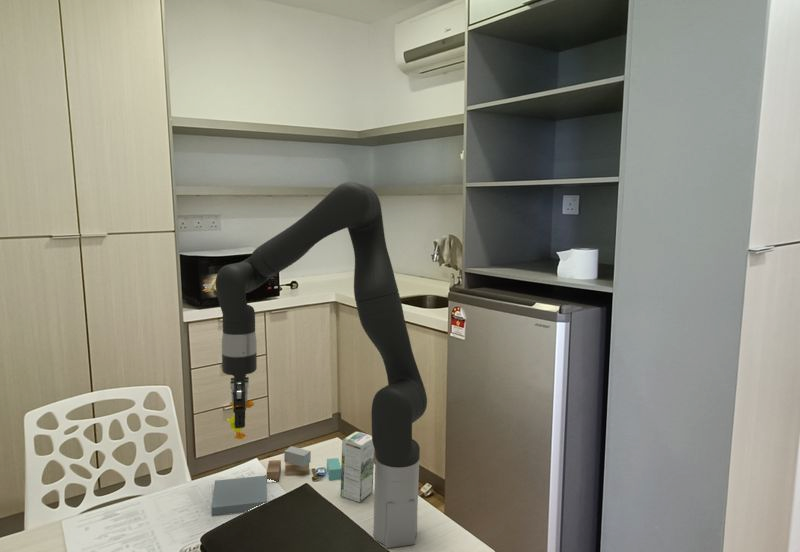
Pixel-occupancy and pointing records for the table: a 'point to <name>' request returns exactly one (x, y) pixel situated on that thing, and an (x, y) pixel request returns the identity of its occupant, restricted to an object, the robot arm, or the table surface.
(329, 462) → the teal brick
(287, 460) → the grey brick
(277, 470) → the walnut brick
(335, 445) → the table surface
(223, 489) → the slate stand
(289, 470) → the oak brick
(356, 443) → the syrup box
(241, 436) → the toy figure
